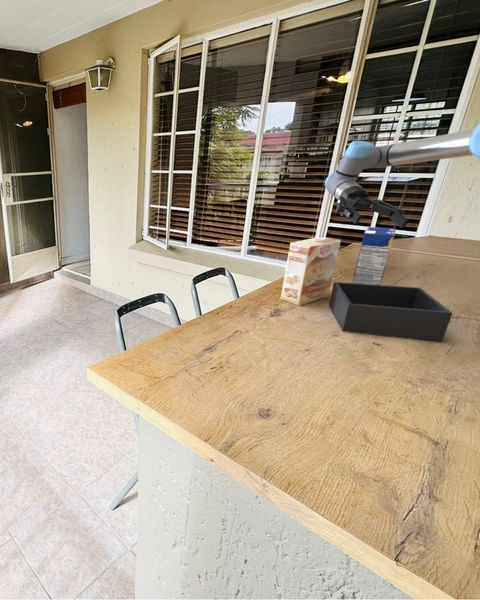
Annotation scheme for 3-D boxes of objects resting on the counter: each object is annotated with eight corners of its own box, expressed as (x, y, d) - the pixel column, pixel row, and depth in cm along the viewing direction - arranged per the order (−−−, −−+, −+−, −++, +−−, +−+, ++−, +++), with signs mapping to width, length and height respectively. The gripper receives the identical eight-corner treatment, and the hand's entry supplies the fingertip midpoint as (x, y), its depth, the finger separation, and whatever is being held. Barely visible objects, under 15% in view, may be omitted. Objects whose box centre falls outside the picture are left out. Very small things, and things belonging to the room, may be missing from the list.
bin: (412, 313, 102) (420, 287, 100) (441, 342, 87) (452, 313, 84) (328, 305, 111) (333, 282, 108) (342, 331, 95) (348, 304, 92)
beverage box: (347, 300, 114) (364, 233, 105) (352, 290, 121) (368, 227, 113) (374, 304, 109) (393, 235, 101) (377, 294, 117) (396, 228, 108)
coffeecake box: (299, 306, 112) (310, 246, 104) (279, 299, 118) (288, 242, 111) (329, 296, 117) (342, 239, 110) (309, 290, 123) (319, 235, 116)
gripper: (382, 208, 127) (417, 236, 111) (310, 202, 130) (333, 229, 113) (395, 188, 122) (432, 214, 106) (319, 182, 125) (345, 207, 109)
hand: (381, 222), depth 110 cm, fingers open, 13 cm apart
